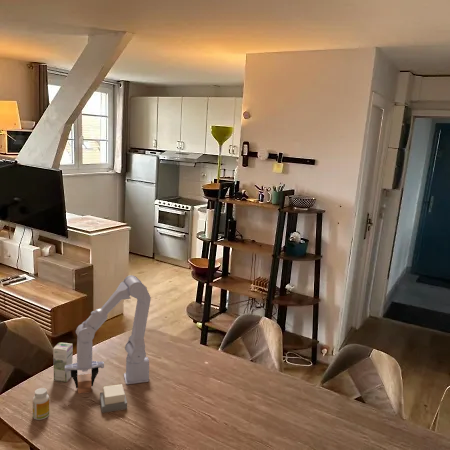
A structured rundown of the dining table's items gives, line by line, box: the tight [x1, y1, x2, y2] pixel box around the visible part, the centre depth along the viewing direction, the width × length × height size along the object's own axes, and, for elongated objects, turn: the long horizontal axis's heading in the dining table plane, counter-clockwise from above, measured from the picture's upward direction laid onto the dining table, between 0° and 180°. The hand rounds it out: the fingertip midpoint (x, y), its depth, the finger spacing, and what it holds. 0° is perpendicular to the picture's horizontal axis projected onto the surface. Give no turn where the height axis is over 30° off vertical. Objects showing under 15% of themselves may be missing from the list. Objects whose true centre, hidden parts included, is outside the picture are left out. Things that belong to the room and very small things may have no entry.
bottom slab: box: [99, 388, 128, 414], centre depth 159 cm, size 9×9×3 cm
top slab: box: [102, 383, 126, 405], centre depth 158 cm, size 7×7×3 cm
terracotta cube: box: [77, 373, 92, 394], centre depth 166 cm, size 5×5×5 cm
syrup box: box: [52, 342, 74, 383], centre depth 171 cm, size 6×6×14 cm
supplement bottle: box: [32, 387, 50, 421], centre depth 148 cm, size 5×5×10 cm
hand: (84, 385), depth 166 cm, fingers closed on terracotta cube, 5 cm apart
